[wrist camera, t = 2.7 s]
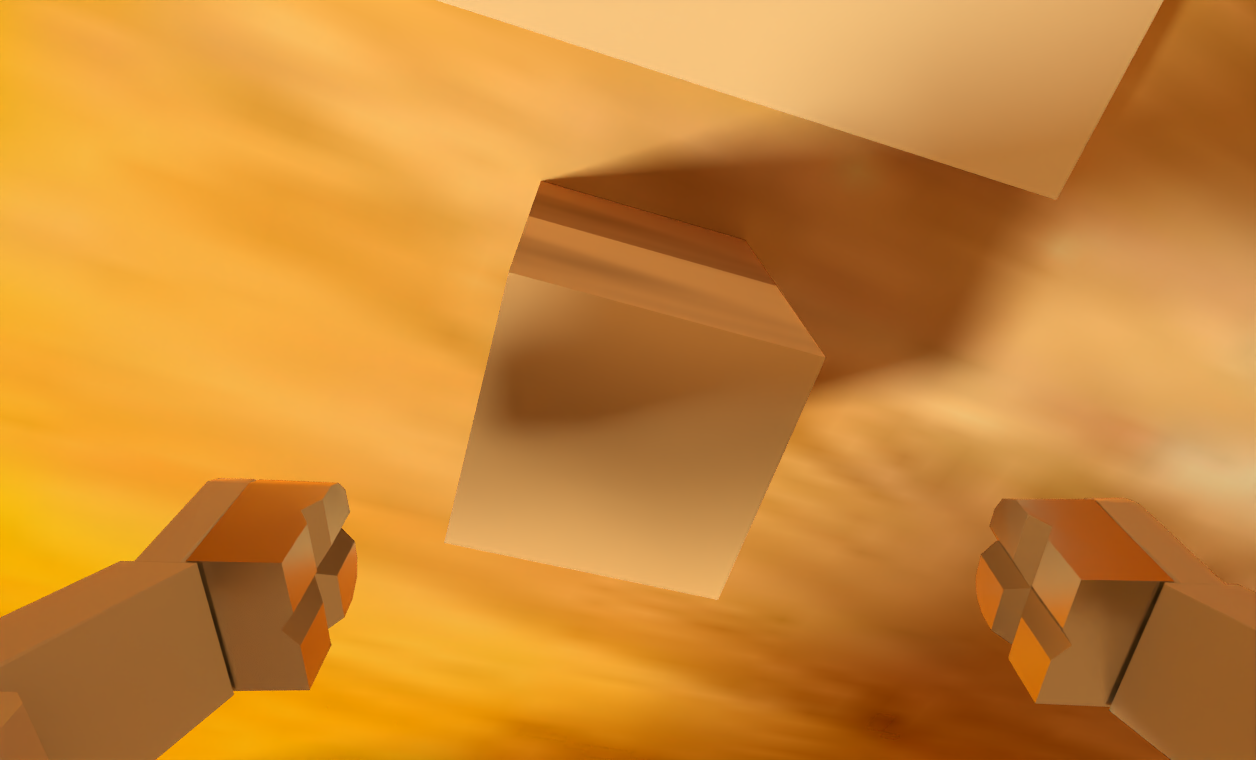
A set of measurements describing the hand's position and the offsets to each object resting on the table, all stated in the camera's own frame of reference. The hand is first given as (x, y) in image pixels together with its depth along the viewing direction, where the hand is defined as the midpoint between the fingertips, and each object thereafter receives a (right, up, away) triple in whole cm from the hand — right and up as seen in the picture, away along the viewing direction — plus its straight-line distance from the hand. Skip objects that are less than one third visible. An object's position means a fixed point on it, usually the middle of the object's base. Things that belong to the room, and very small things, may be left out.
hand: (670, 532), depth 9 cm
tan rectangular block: (-1, +4, +9) cm, 10 cm away
